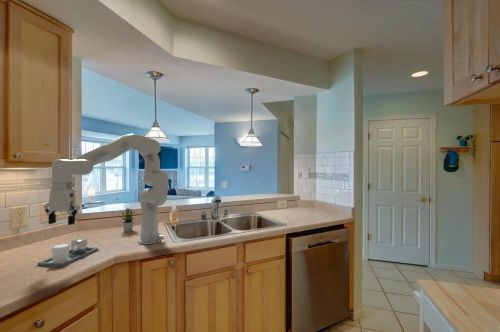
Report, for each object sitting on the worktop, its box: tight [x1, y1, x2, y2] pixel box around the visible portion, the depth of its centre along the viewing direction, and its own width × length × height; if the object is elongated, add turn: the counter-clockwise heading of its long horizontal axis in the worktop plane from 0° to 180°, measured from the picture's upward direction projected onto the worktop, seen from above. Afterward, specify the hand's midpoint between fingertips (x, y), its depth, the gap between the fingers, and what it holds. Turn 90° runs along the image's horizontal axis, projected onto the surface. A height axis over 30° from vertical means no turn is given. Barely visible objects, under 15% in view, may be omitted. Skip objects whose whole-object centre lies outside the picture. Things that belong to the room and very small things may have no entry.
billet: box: [70, 238, 88, 255], centre depth 126 cm, size 7×7×6 cm
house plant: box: [117, 207, 136, 233], centre depth 175 cm, size 14×14×16 cm
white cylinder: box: [51, 242, 71, 263], centre depth 115 cm, size 7×7×7 cm
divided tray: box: [34, 246, 101, 269], centre depth 121 cm, size 14×24×2 cm, turn 173°
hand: (61, 223), depth 116 cm, fingers open, 9 cm apart
